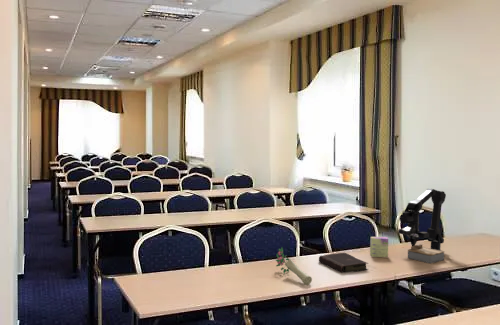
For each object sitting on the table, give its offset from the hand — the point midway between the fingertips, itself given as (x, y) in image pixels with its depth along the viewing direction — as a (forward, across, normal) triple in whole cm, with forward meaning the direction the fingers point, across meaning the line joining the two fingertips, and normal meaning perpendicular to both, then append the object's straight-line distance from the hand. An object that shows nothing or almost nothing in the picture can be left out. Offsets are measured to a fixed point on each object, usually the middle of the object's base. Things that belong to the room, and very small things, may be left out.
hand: (413, 246), depth 323 cm
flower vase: (+6, -12, -91) cm, 92 cm away
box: (+6, -13, -17) cm, 22 cm away
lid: (+1, +9, 0) cm, 9 cm away
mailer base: (+6, +9, 0) cm, 11 cm away
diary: (+7, -10, -53) cm, 54 cm away
